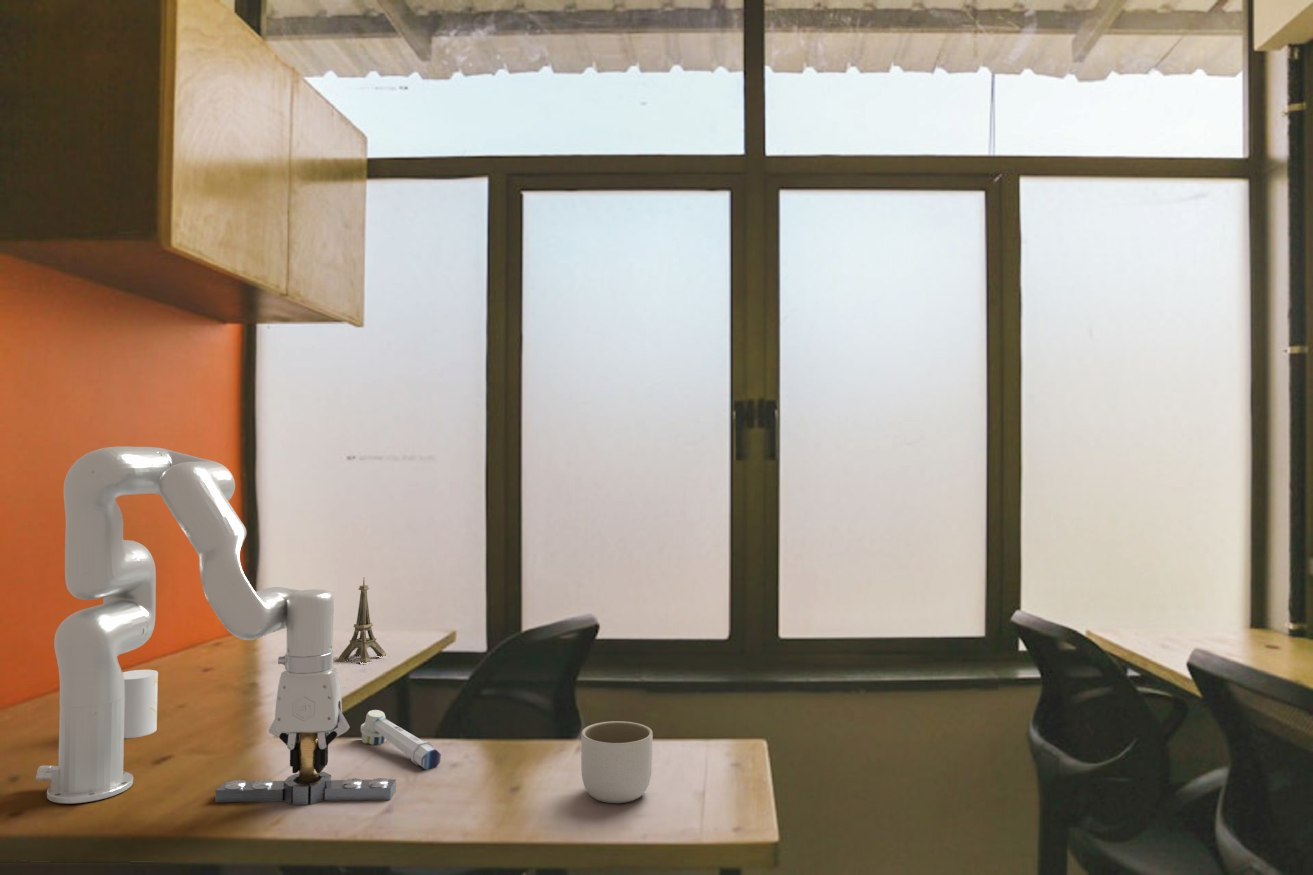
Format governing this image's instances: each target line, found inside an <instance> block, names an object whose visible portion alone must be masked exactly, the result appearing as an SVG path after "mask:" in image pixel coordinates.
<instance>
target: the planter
mask: <svg viewBox="0 0 1313 875" xmlns="http://www.w3.org/2000/svg"><path fill="white" fill-rule="evenodd" d="M580 735H581V737H580V738H581V739H580V740H581V741H580V743H581V744H580V749H581V750H580V752H581V753H580V754H581V755H580V760H581V761H580V763H581V764H580V765H581V766H580V767H581V780H582V782H583V786H584V788H585V791H586V792H587V793H588V794H589V795H590V797H592V798H594V799H595V800H597V801H599V802H603V803H607V804H608V803H609V804H622V803H623V804H624V803H629V802H634V801H635V800H637V799H639V798H641V796H642V795H644V793H645V792H646V791H647V789H648V788H649V785H650V781H651V779H652V778H651V777H652V767H653V742H654V741H653V737H654V736H653V729H651V728H650V727H649V726H646V724H645V725H644V724H641V723H639V722H632V721H625V720H624V721H622V720H621V721H618V720H617V721H616V720H615V721H614V720H612V721H602V722H597V723H593V724H590V725H588V726H586V727H584V728H582V730H581V734H580Z"/></svg>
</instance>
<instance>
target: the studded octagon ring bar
mask: <svg viewBox="0 0 1313 875" xmlns="http://www.w3.org/2000/svg"><path fill="white" fill-rule="evenodd" d="M396 791H397V779H395V778H394V779H393V778H391V779H390V778H389V779H388V778H385V777H384V778H383V777H378V778H373V779H362V778H348V779H347V778H346V779H332V774H329V773H328V772H326V771H323V770H322V771H321V772H320V773H319V781H316V782H313V783H309V784H299V772H297V773H293V774H291V775H290V776H288V777H286V778H285V780H272V779H268V778H267V779H259V780H244V779H234V780H230V781H224V782H223V783H222V784H221V785H219V786H218V788H216V790H215V796H214V797H215V799H214V800H215V803H252V802H255V803H257V802H258V803H260V802H261V803H263V802H264V803H265V802H266V803H267V802H269V803H271V802H283V801H284V802H285V803H287V804H289V805H292V806H299V805H300V806H307V805H309V804H310V805H313V804H316V803H320V802H323V801H324V802H329V801H332V802H333V801H334V802H335V801H341V802H343V801H389V800H390V801H391V800H392V798H393V797H394V795H395V793H396Z"/></svg>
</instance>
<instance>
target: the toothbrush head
mask: <svg viewBox="0 0 1313 875" xmlns="http://www.w3.org/2000/svg"><path fill="white" fill-rule="evenodd" d="M360 733H361V742H362V743H364V745H367V744H370V746H373V745H376V746H377V745H380V744H381V745H382V744H384V743H385V741H386V742H387V741H388V742H389V743H391V744H392V745H393V746H395V747H396V748H397V749H398V750H400V751H401V752H402V753H404V754H405V755H406V756H408V757H409V758H410V759H411V760H410V761H411V762H412V763H414V764H415V766H419V767H421V768H422V769H424V770H425V771H428V770H432V769H434V768H437V767H438V766H439V765H440V763H441V758H442V757H441V756H442V754H441V753H440V752H439V751H438V750H436V749H435V748H434V746H433V745H432V744H431V743H430V742H429V741H424V740H422V739H421V738H418V737H417V736H415V735H414V734H412V733H410V732H408V731H407V730H405V729H403V728H402V727H400V726H398V725H396V724H395V723H393V722H392V721H390V720H389V719H387V718H386V714H385V712H384V711H382V710H380V709H372V710H369V711H368V712H367V714H366V716H365V721H364V723H362V724H361V725H360Z"/></svg>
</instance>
